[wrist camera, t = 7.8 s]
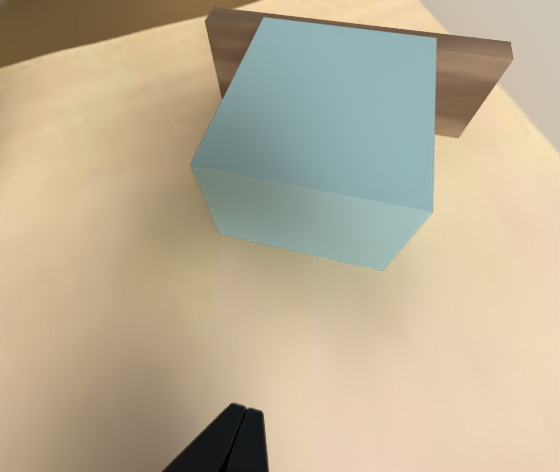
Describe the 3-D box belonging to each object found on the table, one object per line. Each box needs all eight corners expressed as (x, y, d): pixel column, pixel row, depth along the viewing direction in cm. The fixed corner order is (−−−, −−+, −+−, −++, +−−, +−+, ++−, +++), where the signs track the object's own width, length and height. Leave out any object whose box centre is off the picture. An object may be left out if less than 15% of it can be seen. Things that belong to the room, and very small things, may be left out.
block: (381, 271, 21) (433, 211, 13) (220, 236, 22) (189, 164, 15) (396, 130, 27) (436, 38, 20) (269, 110, 28) (263, 17, 21)
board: (458, 137, 26) (513, 59, 20) (222, 100, 29) (204, 20, 22) (457, 122, 27) (510, 41, 20) (229, 87, 29) (213, 7, 23)
